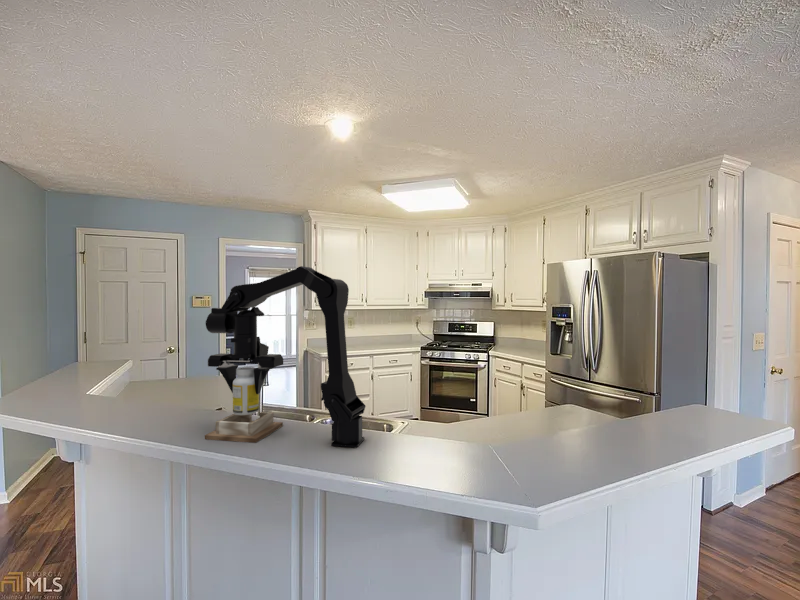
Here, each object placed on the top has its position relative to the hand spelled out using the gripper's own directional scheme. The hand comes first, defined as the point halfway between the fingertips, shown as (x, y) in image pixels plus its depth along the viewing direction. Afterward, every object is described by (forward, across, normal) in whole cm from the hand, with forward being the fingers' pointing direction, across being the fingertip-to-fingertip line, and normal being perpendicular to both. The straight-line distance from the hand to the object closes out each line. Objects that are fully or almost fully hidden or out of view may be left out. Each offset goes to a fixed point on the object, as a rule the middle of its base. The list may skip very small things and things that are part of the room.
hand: (245, 393), depth 112 cm
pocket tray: (+10, 0, 0) cm, 10 cm away
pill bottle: (+5, 0, 0) cm, 5 cm away
